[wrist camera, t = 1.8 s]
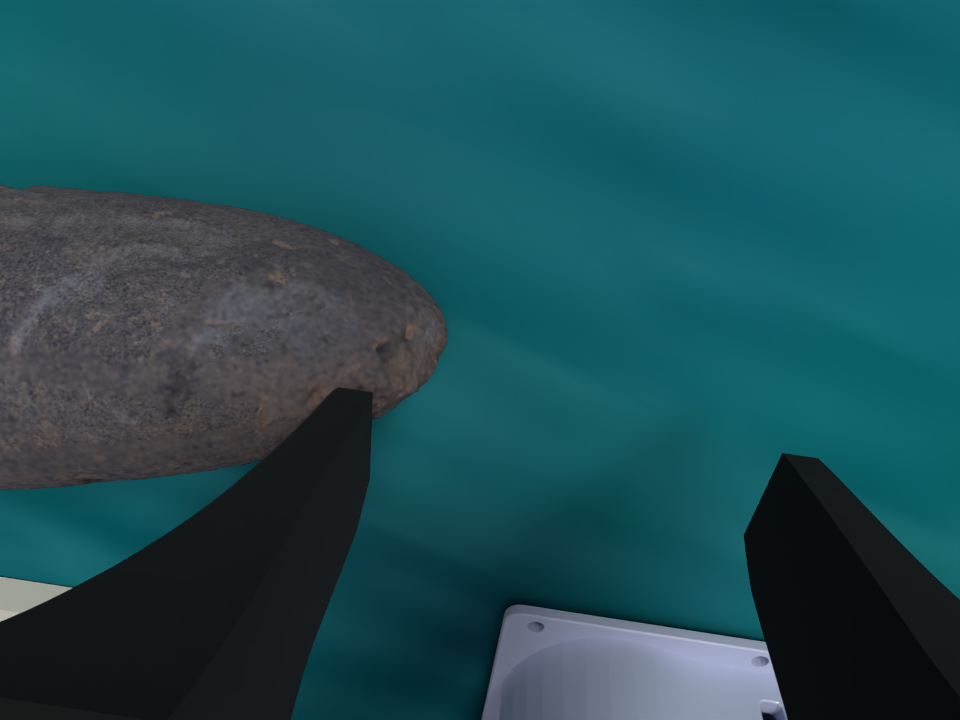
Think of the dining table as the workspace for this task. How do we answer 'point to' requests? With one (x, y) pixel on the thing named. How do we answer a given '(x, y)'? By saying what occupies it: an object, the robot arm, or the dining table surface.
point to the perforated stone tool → (185, 334)
